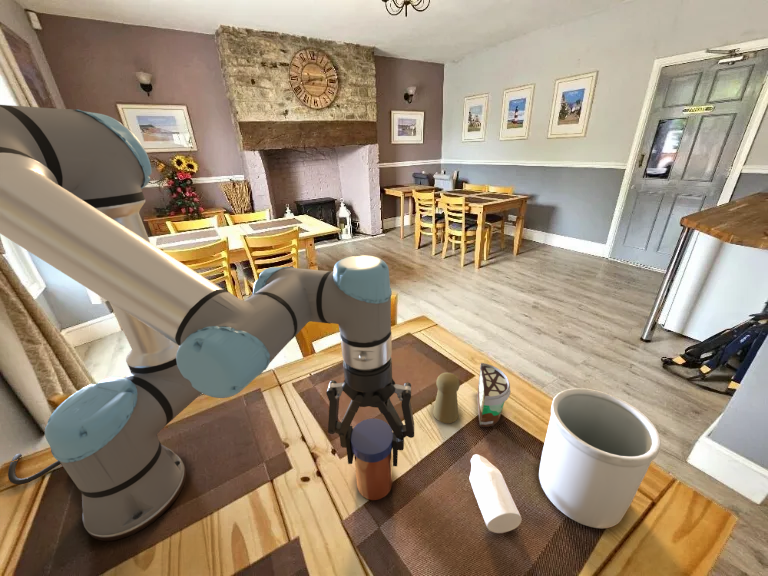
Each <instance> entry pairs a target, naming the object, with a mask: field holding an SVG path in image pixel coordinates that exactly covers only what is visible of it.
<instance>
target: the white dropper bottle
mask: <svg viewBox="0 0 768 576" xmlns="http://www.w3.org/2000/svg"><path fill="white" fill-rule="evenodd" d="M470 465H471V467H470V474H469V477H468V478H469V482H470V485H471V489H472V491H473V494H474V497H475V499H476V501H477V505H478V508H479V510H480V513H481V515H482V518H483V520H484V524H485V525H486V528H487V530H488V531H489V532H492V533H495V534H504V533H507V532H510V531H513V530H515V529H517V528H518V527H519V526H520V525H521V524H522V521H523V519H522V515H521V514H520V512H519V509H518V508H517V505H516V503H515V501H514V499H513V497H512V494H511V492H510V489H509V487H508V485H507V484H506V481H505V478H504V476H503V474H502V472H501V471H500V470H499V469H498V467H496V466H495V465H494V464H492V463H491V462H490V461H489V460H488V459H487V458H486V457H484V456H483V455H480V454H477V453H475V454H473V455H472V457H471V458H470Z"/></svg>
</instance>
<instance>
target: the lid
mask: <svg viewBox="0 0 768 576" xmlns="http://www.w3.org/2000/svg"><path fill="white" fill-rule="evenodd" d="M392 440H393V431H392V429H391V427H390V425H389V424H388V422H387V421H386V420H385V421H384V420H383V419H380V418H367V419H364V420H361V421H360V422H358V423H356V425H355V426H353V430H352V433H351V447H352V451H353V453H354V454H355V456H356V457H357V458H358V459H360V460H362V461H364V462H370V463H373V462H378V461H381V460H383V459H385V458H386V457H387V456H388V455H389V454H390V452H391V451H392V452H393V442H392Z"/></svg>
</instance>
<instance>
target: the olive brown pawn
mask: <svg viewBox="0 0 768 576" xmlns="http://www.w3.org/2000/svg"><path fill="white" fill-rule="evenodd" d="M435 383H436V388H437V391H436V392H437V393H436V396H435V401H434V405H433V408H432V414H433V417H434V418H435V419H436V420H437V421H438V422H440V423H443V424H451V423H455V422H456V421H457V420H458V418H459V403H458V402H459V401H458V391H459V389H460V385H461V384H460V379H459V377H458V376H457V375H456V374H455V373H452V372H447V371H446V372H442V373H441V374H439V375H438V376H437V378H436V382H435Z"/></svg>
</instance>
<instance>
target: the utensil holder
mask: <svg viewBox="0 0 768 576" xmlns="http://www.w3.org/2000/svg"><path fill="white" fill-rule="evenodd" d="M661 446H662V440H661V436H660V433H659V431H658V429H657V427H656V426H655V424H654V423H653V422H652V421H651V419H649V417H648V416H647V415H646V414H644V413H643V411H640V409H638V408H637V407H635V406H634V405H632V404H631V403H629V402H628V401H626V400H624V399H622V398H620V397H618V396H616V395H613V394H610V393H609V392H608V393H607V392H605V391H601V390H597V389H591V388H582V387H581V388H578V387H577V388H569V389H565V390H562V391H560V392H559V393H557V394H556V395H555V396H554V397H553V399H552V402H551V406H550V417H549V421H548V426H547V431H546V435H545V439H544V444H543V447H542V451H541V457H540V463H539V468H538V469H539V470H538V479H539V483H540V486H541V488H542V490H543V492H544V494H545V496H546V497H547V498H548V500H549V501H550V502H551V503H552V504H553V505H554V506H555V508H556V509H557V510H559V511H560V512H561V513H562V514H563V515H565V516H566V517H568V518H569V519H570V520H573V522H574V521H575V522H576V523H578V524H580V525H583V526H587V527H589V528H594V529H609V528H612V527H614V526H615V527H616V525H618V524H619V523H620V522H621V521H622V519H623V518H624V517H625V515H626V513H627V511H628V510H629V508H630V507H631V505H632V503H633V500H634V498H635V496H636V495H637V493H638V490H639V488H640V486H641V484H642V482H643V480H644V478H645V476H646V474H647V473H648V470H649V468H650V465H651V463H652V462H653V461H654V460H655V459H657V456H658V455H659V453H660V451H661Z"/></svg>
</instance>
